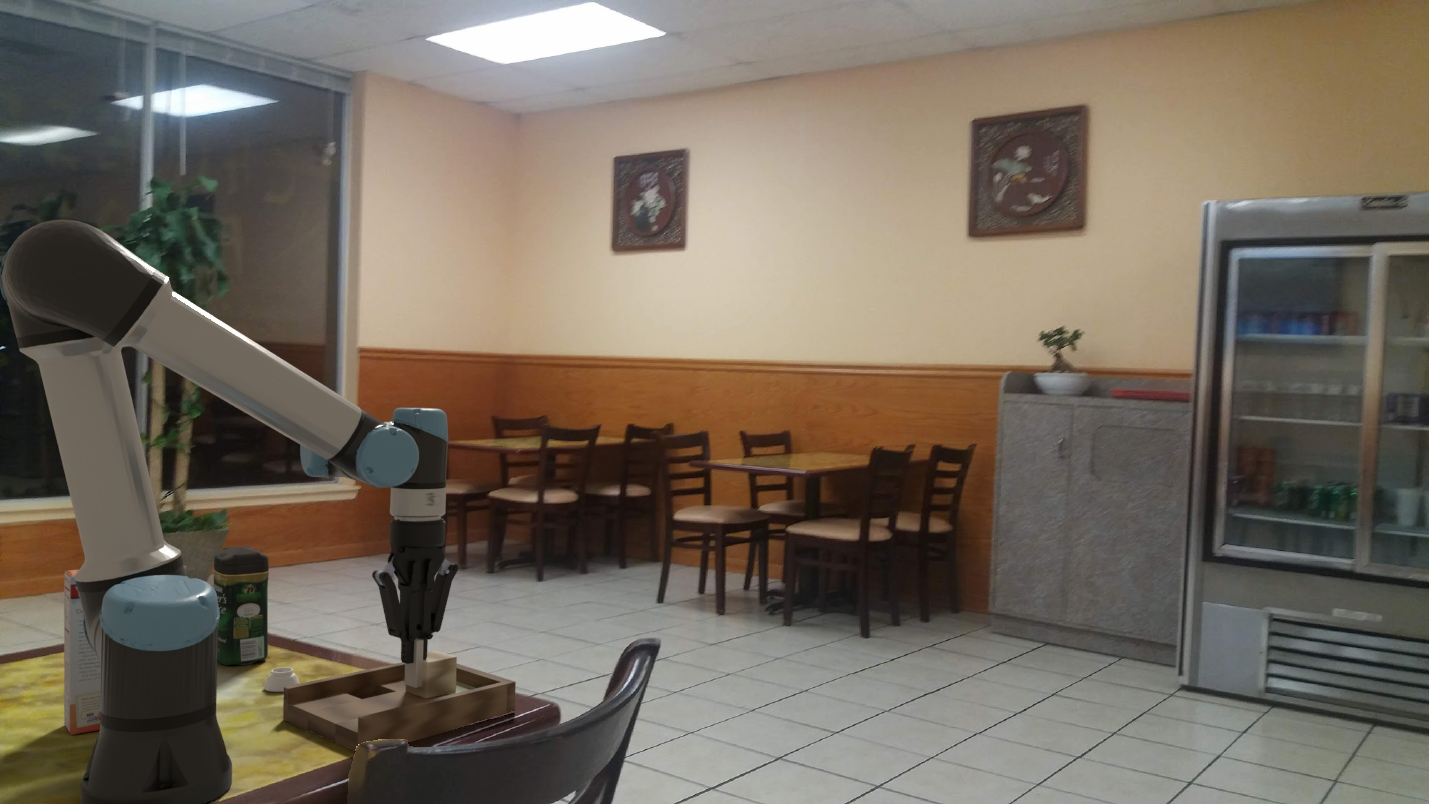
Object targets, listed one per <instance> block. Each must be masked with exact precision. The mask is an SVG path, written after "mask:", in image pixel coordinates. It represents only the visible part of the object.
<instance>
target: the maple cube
mask: <svg viewBox="0 0 1429 804" xmlns="http://www.w3.org/2000/svg"><path fill="white" fill-rule="evenodd" d="M457 662H458V657H457V656H455V655H452V654H449V653H445V652H443V651H439V650H433V651H432V650H431V651H427V658H426V659H425V660H423V663H422V686H421V687H417V688H415V687H412V686H409V685H406V690H405V691H406V692H409V693H412V694H414V695H417V696H420V697H423V698H431V697H435V696H439V695H444V694H448V693H452V692H456V666H457V664H458V663H457Z"/></svg>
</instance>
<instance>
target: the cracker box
mask: <svg viewBox="0 0 1429 804" xmlns="http://www.w3.org/2000/svg"><path fill="white" fill-rule="evenodd" d="M184 568H185V572H186V576H187V573H188V572H187V569H188V567H187V566H186V565H184ZM78 571H79V569H71V570H69V569H68V570H65V571H64V577H63V579H64V580H63V584H64V585H63V586H64V588H63V589H64V590H63V591H64V594H63V595H64V596H63V597H64V599H63V600H64V602H63V604H64V605H63V609H64V610H63V611H64V612H63V616H64V617H63V620H64V621H63V626H64V627H63V628H64V629H63V630H64V631H63V639H64V640H63V642H64V643H63V646H64V647H63V654H64V655H63V661H64V662H63V664H64V665H63V666H64V667H63V668H64V671H63V672H64V673H63V674H64V675H63V683H64V685H63V687H64V688H63V710H64V711H63V717H64V720H63V721H64V722H63V723H64V726H65V727H66V730H67V731H68V733H69V734H70V735H71V736H72V735H78V734H85V733H91V732H96V731H97V732H98V731H100V713H101V711H100V697H101V663H100V661H99V659H98V657H97V655H96V653H95V652H94V651H93V650H92V648H91V647H90V645H89V643H88V642H87V639H86V637H85V633H84V630H83V619H84V618H83V610H82V606H81V602H80V598H79V593H78V589H77V585H76V581H75V575H76V573H77V572H78Z"/></svg>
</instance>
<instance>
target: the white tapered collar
mask: <svg viewBox="0 0 1429 804" xmlns="http://www.w3.org/2000/svg"><path fill="white" fill-rule="evenodd" d="M296 684H301V682H300V680H299V678H298V676H297V674H296V673H294V669H293V668H292V667H285V666H284V667H282V666H281V667H275V668H273V669H271V672H270V674H269V675H268V676H267V678H266V680H265V683H264V685H263V689H264V690H265V691H267V692H270V693H284V687H286V686H291V685H296Z"/></svg>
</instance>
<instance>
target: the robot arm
mask: <svg viewBox="0 0 1429 804" xmlns="http://www.w3.org/2000/svg"><path fill="white" fill-rule="evenodd" d="M0 291H1V295H2V297H3V299H4V300H5V302H6V305H7V306H8V309H9V312H10V313H9V314H10V318H11V321H12V325H13V329H14V334H15V336H16V337H15V338H16V341H17V342H16V343H17V345H18V349H19V352H20V353H22V354H24V355H25V356H27V357H29V358H30V359H33V360H34V361H35V362H36V363H37V364H38V367H39V371H40V376H41V379H42V383H43V388H44V391H45V396H46V397H45V398H46V401H47V405H48V409H49V413H50V417H51V421H52V426H53V430H54V434H55V438H56V442H57V445H58V450H59V454H60V459H61V463H62V467H63V471H64V475H65V479H66V480H65V481H66V483H67V484H66V485H67V487H68V488H67V489H68V493H69V495H70V500H71V501H70V502H71V505H72V509H73V512H74V513H73V514H74V516H75V522H76V526H77V530H78V535H79V539H80V541H81V546H82V550H83V554H84V562H83V564H82V565H81V567H79V569H78V570H79V571H78V572H77V573H76V575H75V581H76V585H77V589H78V593H79V598H80V602H81V606H82V610H83V618H84V619H83V630H84V633H85V637H86V639H87V642H88V643H89V645H90V647H91V648H92V650H93V651H94V652H95V653H96V655H97V657H98V659H99V661H100V663H101V697H100V711H101V713H100V730H98V731H99V733H98V735H97V738H96V740H95V742H94V743H95V744H94V746H93V749H92V751H91V754H90V757H89V760H88V763H87V767H86V771H85V773H84V775H83V776H82V779H81V782H80V804H206V803H208V802H211V801H214V800H215V799H217V798H219V797H220V796H222V795H224V794H225V793H227V791H228V790H229V789H230V788H231V787H232V783H233V763H232V760H231V757H230V755H229V754H228V751H227V747H226V744H225V741H224V740H225V739H224V737H223V734H222V730H221V728H220V725H219V723H218V717H217V696H218V695H217V692H218V691H217V690H218V688H217V687H218V686H217V685H218V661H217V645H218V623H219V617H220V612H219V607H218V600H217V594H216V591H215V589H214V586H212V585H211V584H210V583H209V582H207V581H204V580H203V579H199V578H196V577H194V578H190V577H189V576H187V575H186V572H185V568H184V566H185V564H184V560H183V554H182V552H181V549H179V548H177V547H175V546H173V545H172V544H169V543H168V542H167V541H165V539H164V535H163V530H162V524H161V521H160V517H159V516H160V515H159V513H158V508H157V504H156V500H155V495H154V490H153V485H152V481H151V477H150V474H149V473H150V472H149V469H148V465H147V459H146V455H145V451H144V446H143V442H142V438H141V434H140V429H139V425H138V422H137V421H138V420H137V417H136V412H135V408H134V404H133V403H134V402H133V399H132V394H131V390H130V387H129V385H130V384H129V381H128V377H127V374H126V373H127V372H126V368H125V365H124V359H123V355H122V349H123V348H126V347H131V348H133V349H135V350H137V351H139V352H140V353H142V354H143V355H145V356H147V357H149V358H150V359H152V360H153V361H156V362H157V363H159V364H161V365H163V366H164V367H165V368H168V369H169V370H171V371H172V372H174V373H176V374H177V375H180V376H182V377H183V378H185V379H187V380H188V381H190V382H192V383H194V384H195V385H196V386H199V387H200V388H202V389H203V390H205V391H207V392H209V393H211V394H212V395H214V396H216V397H218V398H219V399H221V400H223V401H225V402H227V404H230V405H231V406H234V407H235V408H237V409H238V410H239V411H242V412H243V413H245V414H247V415H249V416H250V417H252V418H254V419H255V420H257V421H259V422H261V423H263V424H264V425H266V426H267V427H269V428H271V429H273V430H275V431H276V432H278V433H279V434H282V435H283V436H285V437H287V438H289V439H290V440H292V441H293V442H295V443H297V444H299V445H300V446H299V447H300V448H299V450H300V451H299V452H300V453H299V454H300V455H299V456H300V463H301V467H302V470H303V472H304V473H305V474H306V476H309V477H311V478H326V479H330V478H346V479H350V480H353V481H357V482H361V483H364V484H368V485H370V486H371V487H374V488H379V489H381V488H382V489H383V488H390V500H389V501H390V502H389V503H390V505H389V514H390V515H391V516H393V517H394V518H392V519H391V520H390V522H389V545H390V553H389V556H388V558H387V564H386V565H384V566H383V567H382V568H381V569H380V570H377V569H376V570H373V572H372V574H371V577H372V578H373V580H374V581H375V584H376V585H377V586H378V591H379V595H380V599H381V604H382V609H383V614H384V619H385V623H386V628H387V633H388V635H389V636H390V637H394V638H398V639H400V642H401V643H400V661H401V663H402V662H403V663H405V684H406V685H409V686H412V687H415V688H417V687H421V686H422V663H423V660H425V659H426V658H427V652H428V646H429V643H428V640H431V639H432V638H433V637H434V633H438V632H440V631H441V629H442V624H443V620H444V617H445V612H446V608H447V603H448V598H449V596H450V590H451V587H452V583H453V580H454V578H455V576H456V575H457V574H458V571H459V565H458V564H456V563H452V562H450V561H449V560H448V559H447V558H446V553H445V552H444V548H443V545H444V544H445V541H446V521H445V519H444V518H443V516H444V515H445V514H446V506H447V505H446V503H447V502H446V501H447V498H446V497H447V469H448V468H447V465H448V449H449V448H448V446H449V445H448V444H449V429H448V427H449V426H448V425H449V424H448V417H447V414H446V412H445V411H444V410H443V409H440V408H431V407H430V408H428V407H398V408H395V409H394V410H393V413H392V417H391V419H390V420H388V421H387V420H386V421H381V419H378V418H377V417H375V416H374V415H372V414H371V413H370V412H367V411H365V410H364V409H362V408H360V406H358V405H356V404H354V403H353V402H351V401H350V400H348V399H346V398H345V397H344V396H341V395H340V394H339V393H337V392H336V391H334V390H332V389H330V388H329V387H328V386H326V385H324V384H322V383H321V382H319V380H316V379H315V378H313V377H312V376H310V375H308V374H307V373H305V372H303V371H302V370H300V369H299V368H297V367H295V366H294V365H292V364H290V363H289V362H287V361H286V360H284V359H282V358H281V357H279V356H278V355H276V354H275V353H273V352H271V351H270V350H268V349H267V348H265V347H263V346H262V345H260V344H259V343H257V342H255V341H254V340H252V339H250V338H249V337H248V336H246V335H244V334H243V333H241V332H240V331H238V330H236V329H235V328H233V327H231V326H230V325H228V324H226V323H225V322H223V321H222V320H220V319H218V318H217V317H215V316H214V315H212V314H211V313H209V312H208V311H206V310H205V309H202V308H201V307H199V306H198V305H196V304H194V303H193V302H191V301H190V300H188V299H187V298H186V297H183V296H182V295H180V294H178V293H177V292H176V291H174V290H173V288H172V285H171V281H170V277H169V276H168V275H166V274H164V273H163V272H160V270H158V269H156V268H155V267H153V266H151V264H149V263H148V262H146V261H145V260H143V259H142V258H140V257H139V256H137V255H136V253H135V254H134V253H133V252H132V251H130V250H129V249H127V248H126V247H125V246H123V244H121V243H119V242H118V241H117V240H115V239H114V238H113V237H112V236H110V235H109V234H107V233H106V232H104V231H103V230H101V229H99V228H97V227H95V226H93V225H92V224H91V225H90V224H88V223H84V222H82V221H78V220H74V219H73V220H72V219H71V220H70V219H53V220H49V221H44V222H40V223H38V224H36V225H34V226H31V227H30V228H28V229H26V230H24V231H23V232H22V233H21V234H20V235H19V236H18V237H17V238H16V239H15V240H14V242H13V243H12V244H11V246H10V248H9V249H8V250H7V252H6V253H5V255H4V256H3V259H2V261H1V265H0ZM396 579H397V586H396V584H395V580H396ZM397 588H398V590H397ZM398 591H399V594H398Z"/></svg>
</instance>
